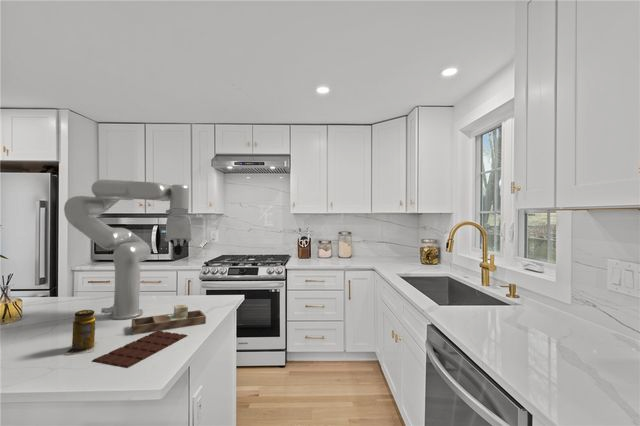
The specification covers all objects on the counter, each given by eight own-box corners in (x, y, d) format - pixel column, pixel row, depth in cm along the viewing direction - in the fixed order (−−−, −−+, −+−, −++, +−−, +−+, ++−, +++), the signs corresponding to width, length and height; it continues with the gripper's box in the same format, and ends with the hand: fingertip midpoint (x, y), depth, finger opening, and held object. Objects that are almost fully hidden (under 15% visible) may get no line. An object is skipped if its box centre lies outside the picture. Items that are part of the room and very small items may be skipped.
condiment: (97, 342, 113) (98, 307, 113) (93, 352, 105) (94, 314, 105) (71, 345, 109) (72, 309, 109) (65, 355, 102) (66, 317, 102)
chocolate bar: (157, 332, 124) (157, 329, 124) (187, 337, 121) (187, 334, 121) (91, 362, 98) (91, 359, 98) (127, 369, 95) (127, 366, 95)
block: (175, 318, 131) (176, 308, 131) (173, 315, 134) (174, 305, 134) (187, 316, 133) (187, 307, 133) (185, 314, 137) (185, 304, 137)
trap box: (133, 334, 120) (133, 326, 120) (131, 326, 129) (131, 318, 129) (205, 323, 135) (205, 316, 135) (199, 316, 143) (200, 310, 143)
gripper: (161, 212, 135) (159, 256, 135) (198, 213, 144) (197, 255, 143) (158, 212, 142) (157, 254, 142) (194, 213, 150) (193, 253, 150)
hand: (177, 254), depth 143 cm, fingers closed
